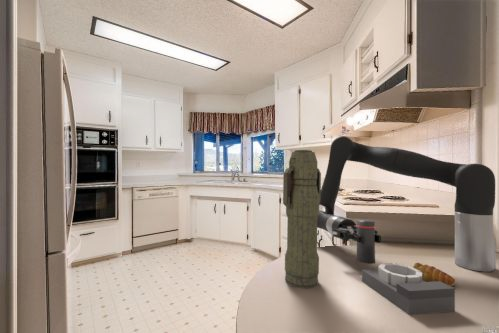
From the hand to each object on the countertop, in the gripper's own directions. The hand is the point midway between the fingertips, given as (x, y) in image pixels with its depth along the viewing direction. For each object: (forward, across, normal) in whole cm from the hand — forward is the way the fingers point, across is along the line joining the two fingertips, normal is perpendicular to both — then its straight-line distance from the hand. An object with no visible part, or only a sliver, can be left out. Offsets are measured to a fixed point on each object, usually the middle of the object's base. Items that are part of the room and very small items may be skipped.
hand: (371, 239), depth 72 cm
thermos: (+2, -22, +10) cm, 25 cm away
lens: (-3, 0, +7) cm, 7 cm away
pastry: (+5, +15, +11) cm, 19 cm away
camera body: (+12, 0, +10) cm, 16 cm away
